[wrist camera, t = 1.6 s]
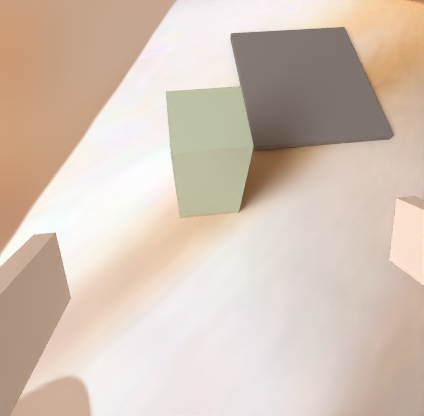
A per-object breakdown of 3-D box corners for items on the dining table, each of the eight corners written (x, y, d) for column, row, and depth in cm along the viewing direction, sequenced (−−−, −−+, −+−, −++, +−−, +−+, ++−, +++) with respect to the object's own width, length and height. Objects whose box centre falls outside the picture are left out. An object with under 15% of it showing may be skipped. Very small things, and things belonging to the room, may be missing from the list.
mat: (341, 32, 47) (344, 27, 46) (389, 139, 39) (393, 134, 38) (230, 38, 46) (231, 33, 45) (254, 150, 37) (255, 145, 37)
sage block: (230, 163, 36) (240, 86, 27) (238, 212, 34) (253, 146, 24) (176, 168, 36) (165, 91, 26) (180, 218, 33) (170, 153, 24)
